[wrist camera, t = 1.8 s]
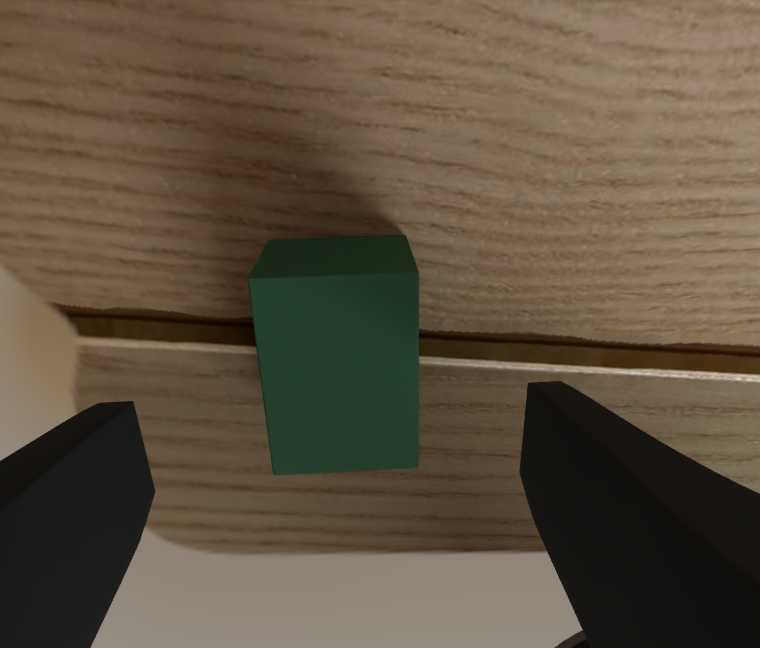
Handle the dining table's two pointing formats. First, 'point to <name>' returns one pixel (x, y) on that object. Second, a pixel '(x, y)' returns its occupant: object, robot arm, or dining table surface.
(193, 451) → the dining table surface
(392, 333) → the green rectangular block
